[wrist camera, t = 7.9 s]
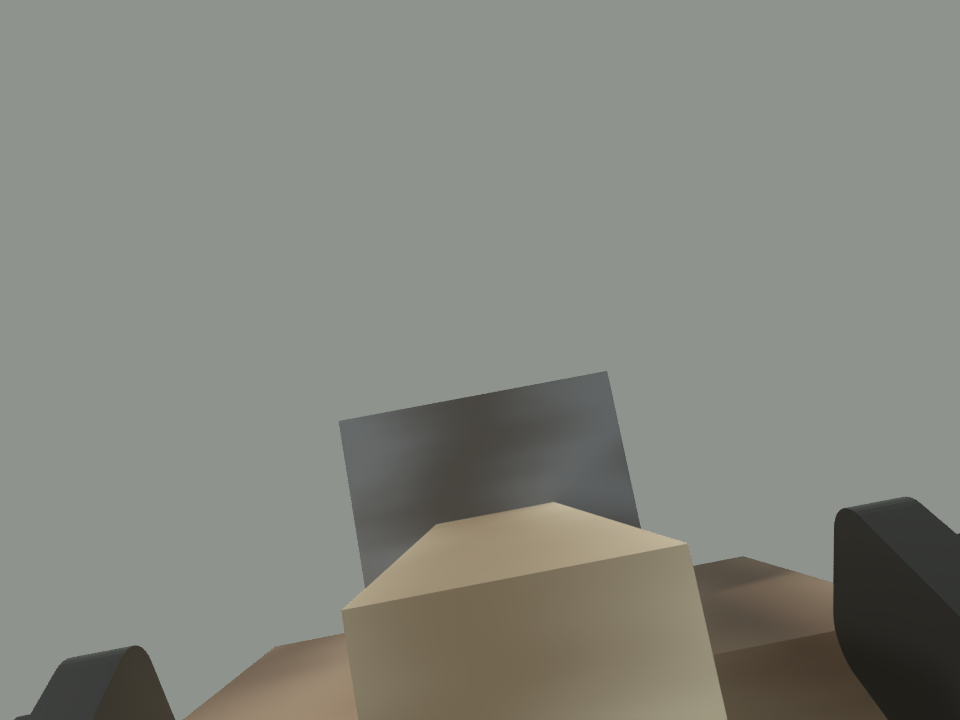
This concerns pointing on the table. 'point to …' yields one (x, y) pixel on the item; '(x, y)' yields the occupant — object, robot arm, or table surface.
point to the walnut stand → (732, 633)
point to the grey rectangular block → (516, 568)
